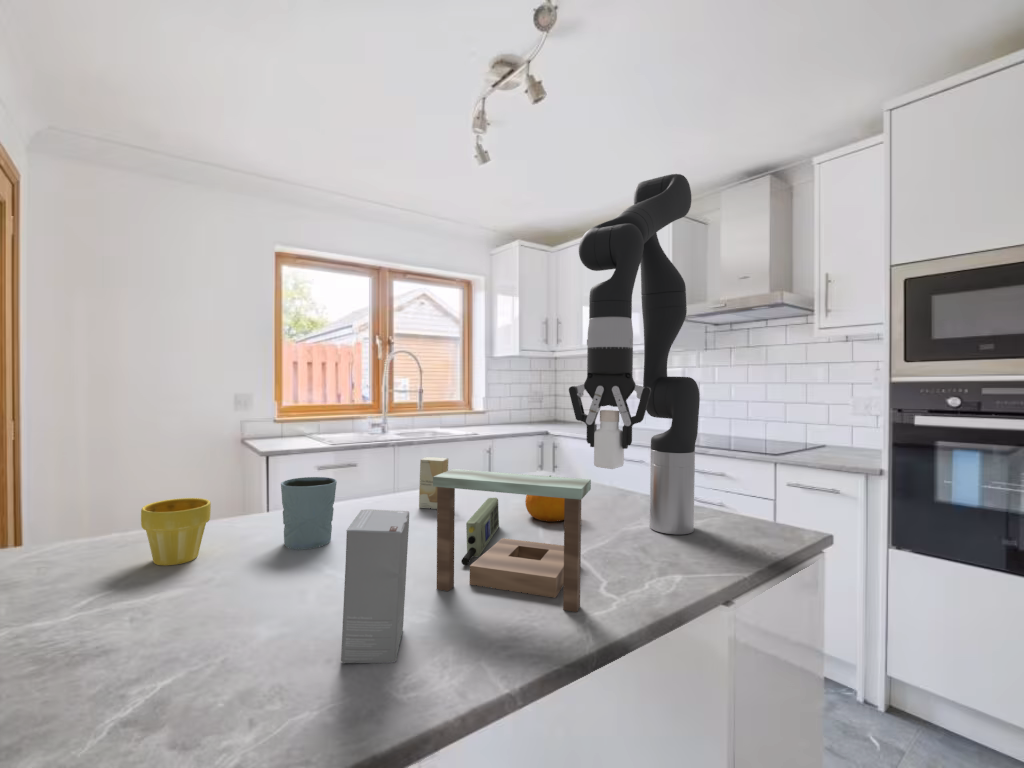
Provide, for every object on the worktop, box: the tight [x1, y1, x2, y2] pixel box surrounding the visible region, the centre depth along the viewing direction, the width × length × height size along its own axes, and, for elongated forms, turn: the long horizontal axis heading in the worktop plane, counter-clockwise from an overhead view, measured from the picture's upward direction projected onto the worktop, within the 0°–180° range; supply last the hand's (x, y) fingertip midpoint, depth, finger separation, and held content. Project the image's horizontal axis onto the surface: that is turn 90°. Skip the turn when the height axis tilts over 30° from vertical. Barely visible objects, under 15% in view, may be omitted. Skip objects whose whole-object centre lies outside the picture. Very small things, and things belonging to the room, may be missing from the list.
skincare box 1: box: [340, 509, 410, 664], centre depth 63 cm, size 8×7×16 cm
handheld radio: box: [461, 497, 500, 566], centre depth 101 cm, size 7×3×25 cm
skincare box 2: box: [418, 456, 449, 510], centre depth 129 cm, size 6×4×12 cm
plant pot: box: [140, 497, 212, 566], centre depth 91 cm, size 10×10×10 cm
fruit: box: [525, 495, 565, 522], centre depth 120 cm, size 12×12×10 cm
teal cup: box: [280, 476, 337, 550], centre depth 101 cm, size 10×10×12 cm
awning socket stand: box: [433, 468, 592, 613], centre depth 84 cm, size 19×23×18 cm
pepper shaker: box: [593, 409, 625, 470], centre depth 87 cm, size 4×4×10 cm
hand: (608, 446), depth 87 cm, fingers closed on pepper shaker, 4 cm apart
